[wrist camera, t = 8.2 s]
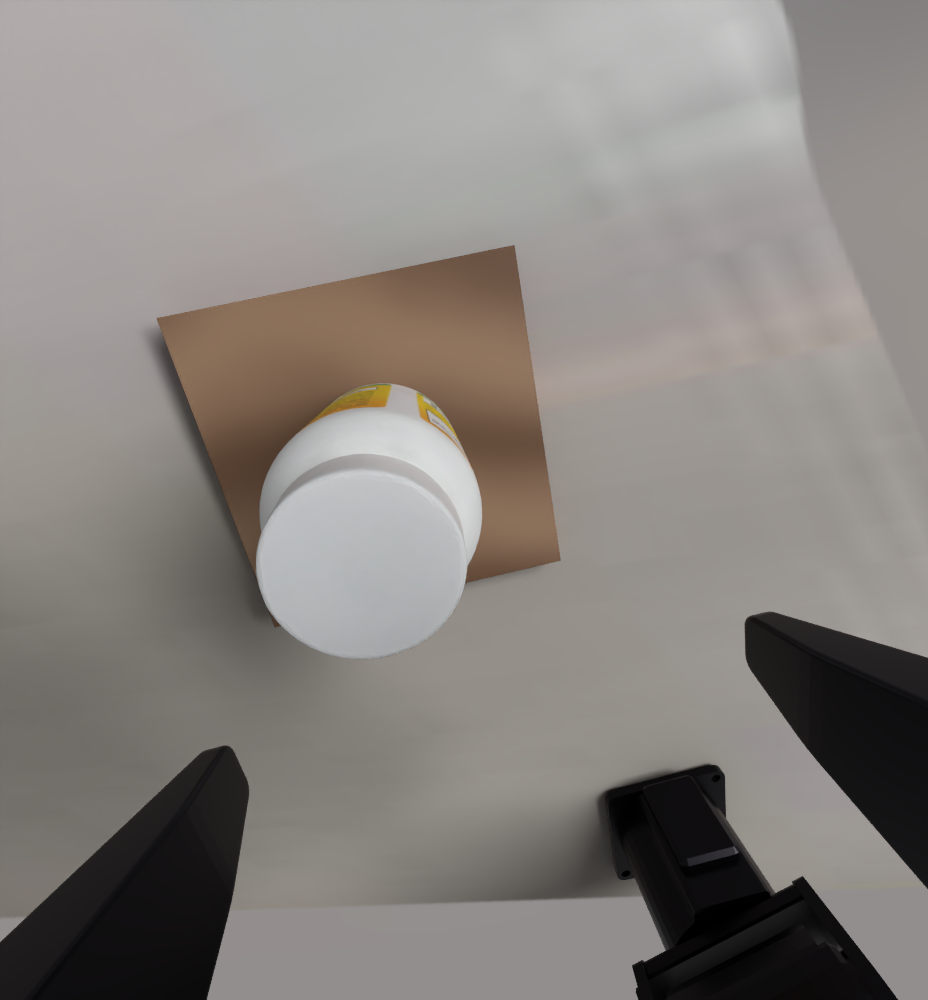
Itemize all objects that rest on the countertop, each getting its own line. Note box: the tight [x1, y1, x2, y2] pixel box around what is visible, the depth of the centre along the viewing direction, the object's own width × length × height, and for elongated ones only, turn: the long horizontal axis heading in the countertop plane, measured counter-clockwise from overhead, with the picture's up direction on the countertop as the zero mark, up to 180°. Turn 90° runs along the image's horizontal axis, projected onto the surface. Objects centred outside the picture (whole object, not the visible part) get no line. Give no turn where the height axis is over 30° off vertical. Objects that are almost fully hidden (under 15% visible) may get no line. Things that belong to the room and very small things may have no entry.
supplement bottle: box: [256, 383, 482, 659], centre depth 14 cm, size 5×5×10 cm
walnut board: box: [157, 245, 561, 627], centre depth 19 cm, size 12×12×1 cm
